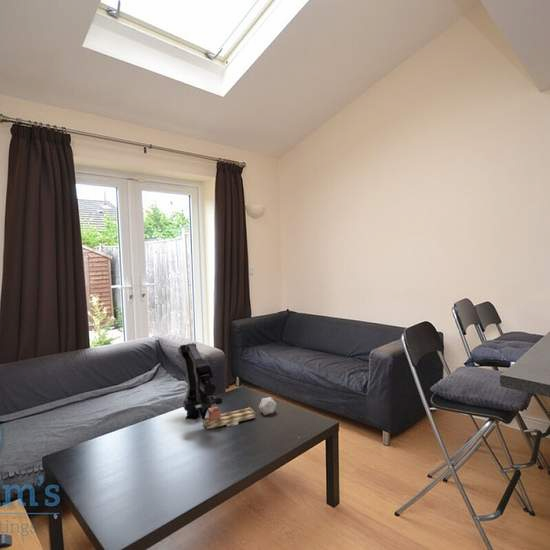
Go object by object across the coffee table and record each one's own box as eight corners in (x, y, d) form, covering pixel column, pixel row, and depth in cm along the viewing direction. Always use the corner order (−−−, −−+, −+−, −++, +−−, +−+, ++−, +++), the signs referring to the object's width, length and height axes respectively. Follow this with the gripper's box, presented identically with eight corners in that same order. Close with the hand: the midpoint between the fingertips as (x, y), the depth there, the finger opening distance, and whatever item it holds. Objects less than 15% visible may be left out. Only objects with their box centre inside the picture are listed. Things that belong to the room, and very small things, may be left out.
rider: (211, 423, 179) (211, 413, 179) (208, 418, 184) (207, 408, 184) (221, 421, 181) (220, 411, 181) (217, 416, 187) (217, 406, 186)
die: (255, 414, 196) (260, 404, 190) (260, 401, 203) (264, 391, 197) (270, 420, 196) (275, 410, 190) (274, 406, 203) (279, 396, 197)
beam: (208, 431, 176) (207, 424, 176) (202, 423, 185) (202, 416, 185) (256, 420, 188) (256, 412, 188) (248, 412, 197) (248, 405, 197)
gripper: (187, 397, 168) (188, 430, 169) (225, 390, 176) (226, 421, 177) (182, 389, 178) (183, 420, 179) (218, 383, 186) (219, 412, 187)
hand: (203, 419), depth 180 cm, fingers closed
